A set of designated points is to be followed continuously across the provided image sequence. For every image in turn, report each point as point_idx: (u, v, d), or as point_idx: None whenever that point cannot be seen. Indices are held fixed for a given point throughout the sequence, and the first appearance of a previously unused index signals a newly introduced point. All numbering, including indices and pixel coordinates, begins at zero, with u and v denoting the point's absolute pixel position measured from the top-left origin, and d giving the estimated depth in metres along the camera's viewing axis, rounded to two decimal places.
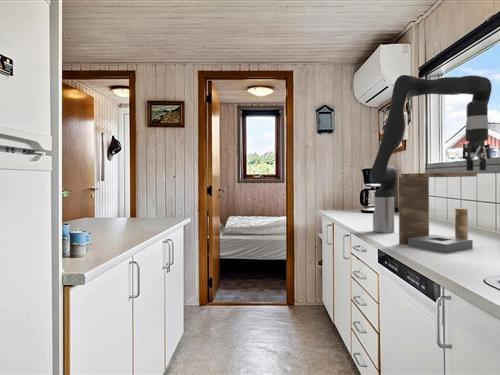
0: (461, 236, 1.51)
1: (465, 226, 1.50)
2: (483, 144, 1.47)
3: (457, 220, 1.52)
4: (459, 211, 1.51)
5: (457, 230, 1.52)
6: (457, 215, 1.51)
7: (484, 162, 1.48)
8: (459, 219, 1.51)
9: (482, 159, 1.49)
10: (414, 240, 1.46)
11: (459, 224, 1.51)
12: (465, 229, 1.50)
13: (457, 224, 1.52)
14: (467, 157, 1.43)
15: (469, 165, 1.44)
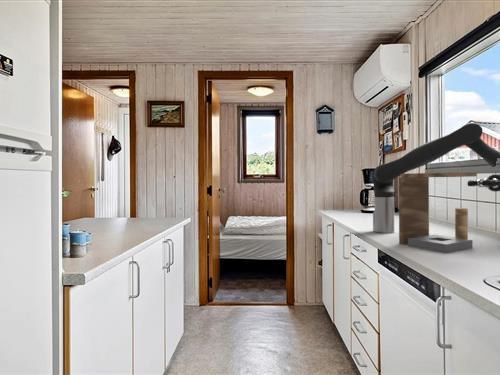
0: (461, 236, 1.51)
1: (465, 226, 1.50)
2: None
3: (457, 220, 1.52)
4: (459, 211, 1.51)
5: (457, 230, 1.52)
6: (457, 215, 1.51)
7: (473, 185, 1.63)
8: (459, 219, 1.51)
9: (474, 183, 1.63)
10: (414, 240, 1.46)
11: (459, 224, 1.51)
12: (465, 229, 1.50)
13: (457, 224, 1.52)
14: None
15: (494, 184, 1.54)
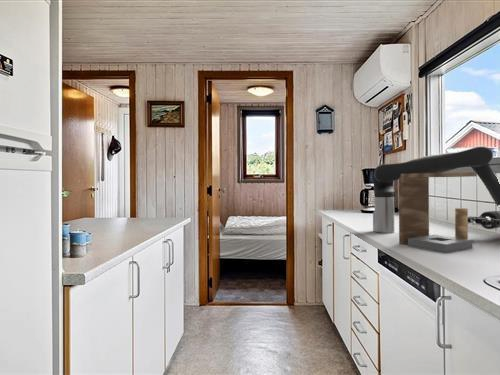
0: (461, 236, 1.51)
1: (465, 226, 1.50)
2: None
3: (457, 220, 1.52)
4: (459, 211, 1.51)
5: (457, 230, 1.52)
6: (457, 215, 1.51)
7: None
8: (459, 219, 1.51)
9: None
10: (414, 240, 1.46)
11: (459, 224, 1.51)
12: (465, 229, 1.50)
13: (457, 224, 1.52)
14: (496, 224, 1.52)
15: (487, 224, 1.52)
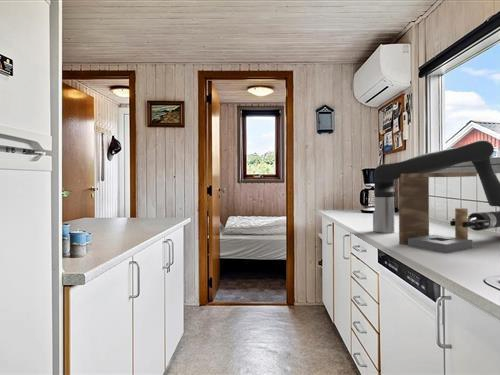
0: (461, 236, 1.51)
1: None
2: None
3: (457, 220, 1.52)
4: (459, 211, 1.51)
5: (457, 230, 1.52)
6: (457, 215, 1.51)
7: None
8: (459, 219, 1.51)
9: None
10: (414, 240, 1.46)
11: (459, 223, 1.51)
12: (465, 229, 1.50)
13: (457, 224, 1.52)
14: (477, 225, 1.49)
15: (468, 225, 1.49)
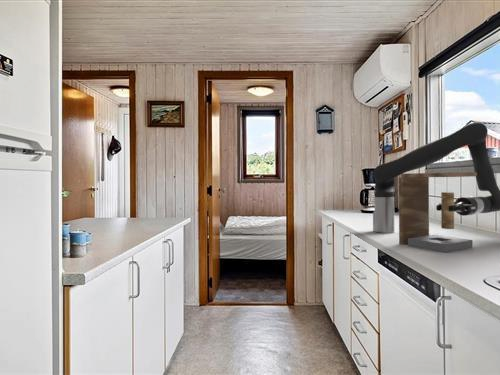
0: (447, 220, 1.46)
1: None
2: None
3: (443, 204, 1.47)
4: (445, 195, 1.46)
5: (443, 214, 1.47)
6: (443, 199, 1.47)
7: None
8: (445, 203, 1.46)
9: None
10: (414, 240, 1.46)
11: (445, 208, 1.46)
12: (451, 213, 1.46)
13: (443, 208, 1.47)
14: (464, 209, 1.44)
15: (454, 209, 1.44)
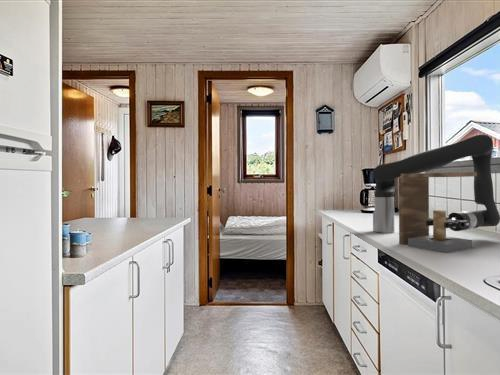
0: (439, 239, 1.44)
1: (442, 229, 1.44)
2: None
3: (435, 223, 1.45)
4: (436, 213, 1.44)
5: (435, 233, 1.45)
6: (435, 217, 1.45)
7: (432, 224, 1.49)
8: (437, 221, 1.44)
9: None
10: (414, 240, 1.46)
11: (437, 226, 1.44)
12: (443, 232, 1.44)
13: (435, 227, 1.45)
14: (460, 226, 1.41)
15: (450, 225, 1.41)
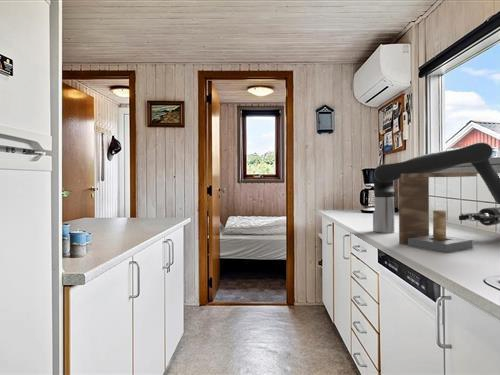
0: (439, 239, 1.44)
1: (442, 229, 1.44)
2: None
3: (435, 223, 1.45)
4: (436, 213, 1.44)
5: (435, 233, 1.45)
6: (435, 217, 1.45)
7: (464, 219, 1.60)
8: (437, 222, 1.44)
9: (466, 217, 1.61)
10: (414, 240, 1.46)
11: (437, 226, 1.44)
12: (443, 232, 1.44)
13: (435, 227, 1.45)
14: (494, 221, 1.52)
15: (485, 220, 1.52)
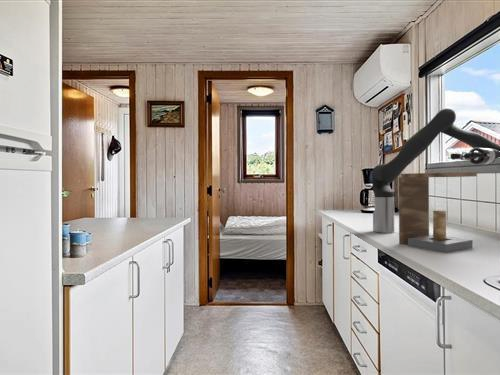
0: (439, 239, 1.44)
1: (442, 229, 1.44)
2: None
3: (435, 223, 1.45)
4: (436, 213, 1.44)
5: (435, 233, 1.45)
6: (435, 217, 1.45)
7: (456, 158, 1.71)
8: (437, 222, 1.44)
9: (457, 156, 1.72)
10: (414, 240, 1.46)
11: (437, 226, 1.44)
12: (443, 232, 1.44)
13: (435, 227, 1.45)
14: (483, 156, 1.63)
15: (475, 155, 1.63)
